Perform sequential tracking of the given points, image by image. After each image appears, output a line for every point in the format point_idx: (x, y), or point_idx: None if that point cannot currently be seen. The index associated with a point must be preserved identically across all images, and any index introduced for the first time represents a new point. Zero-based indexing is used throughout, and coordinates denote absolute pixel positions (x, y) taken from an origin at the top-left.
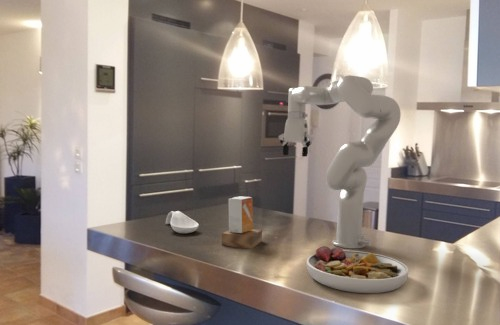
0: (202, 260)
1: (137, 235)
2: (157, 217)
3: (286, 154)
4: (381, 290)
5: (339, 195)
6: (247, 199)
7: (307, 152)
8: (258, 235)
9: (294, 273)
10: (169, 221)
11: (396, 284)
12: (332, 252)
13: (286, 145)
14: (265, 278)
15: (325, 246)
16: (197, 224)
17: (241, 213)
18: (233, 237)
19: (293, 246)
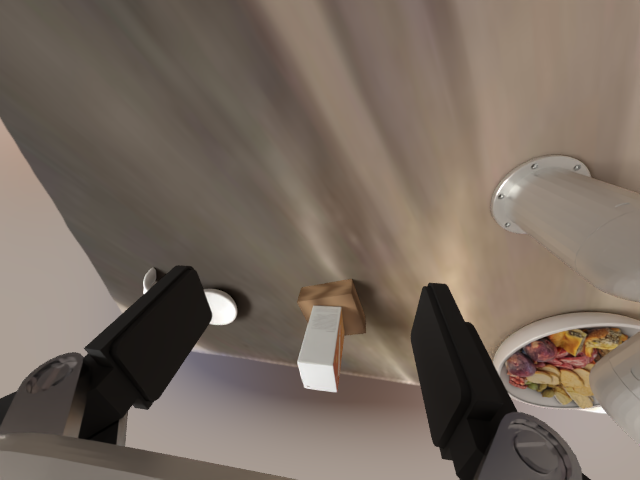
0: (350, 371)
1: (205, 339)
2: (88, 251)
3: (202, 297)
4: None
5: (610, 286)
6: (336, 377)
7: (477, 344)
8: (356, 304)
9: None
10: (153, 281)
11: None
12: (535, 360)
13: (119, 394)
14: None
15: (528, 372)
16: (223, 297)
17: (340, 364)
18: None
19: (418, 274)
